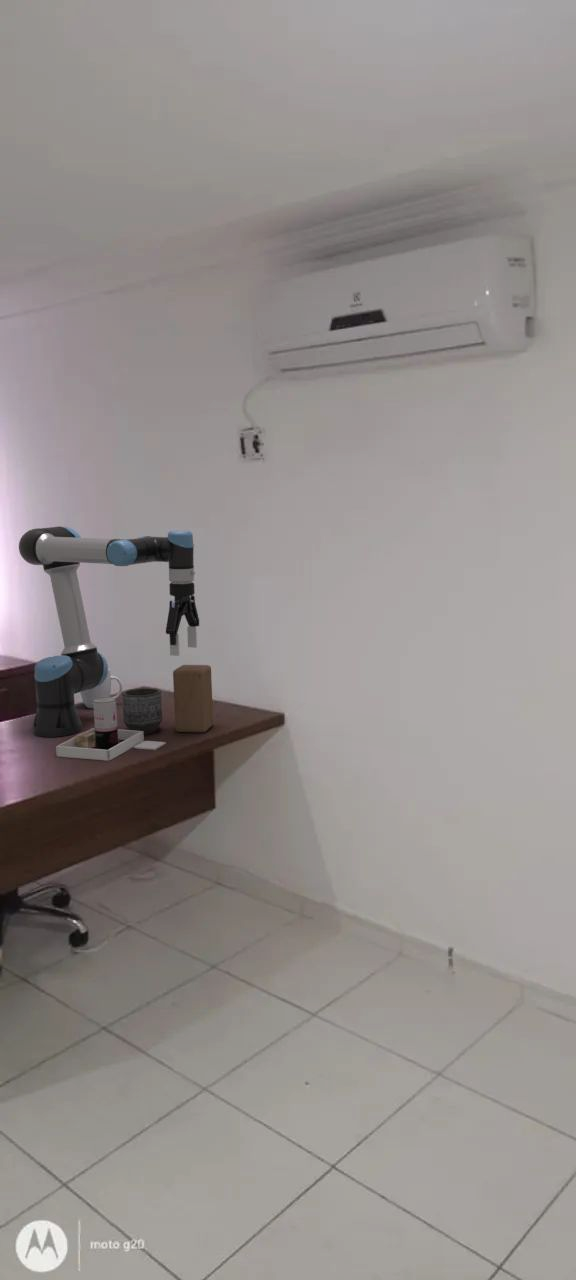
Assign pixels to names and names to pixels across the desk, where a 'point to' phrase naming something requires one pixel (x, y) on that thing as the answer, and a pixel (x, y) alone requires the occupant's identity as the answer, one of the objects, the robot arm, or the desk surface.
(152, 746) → the pad
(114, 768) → the desk surface
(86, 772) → the desk surface
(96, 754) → the bin
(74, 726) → the robot arm
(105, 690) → the mug
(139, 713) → the planter
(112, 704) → the beverage can
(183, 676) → the wooden block
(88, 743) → the beech block
